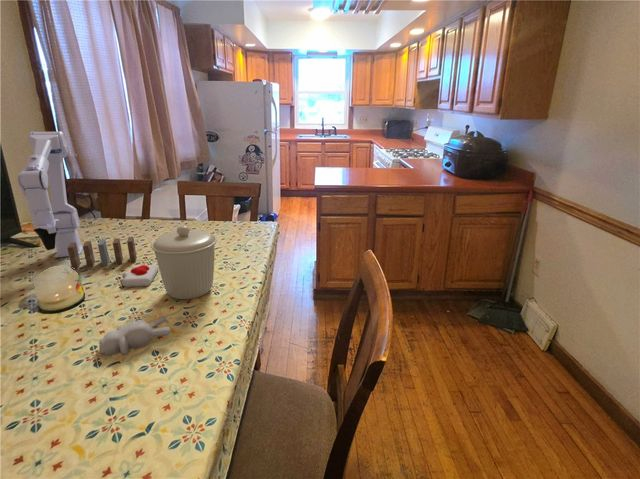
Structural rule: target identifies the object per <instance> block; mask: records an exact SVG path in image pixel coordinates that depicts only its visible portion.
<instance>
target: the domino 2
mask: <svg viewBox="0 0 640 479" xmlns="http://www.w3.org/2000/svg"><path fill="white" fill-rule="evenodd" d="M82 245H83V249H82V251H83V253H84V258H85V264H86V266H87V269H88V268H93V267H94V265H95V263H96V260H95V255H94V254H95V253H94V250H93V246H92V241H91V240H86V241H84V244H82Z"/></svg>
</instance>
